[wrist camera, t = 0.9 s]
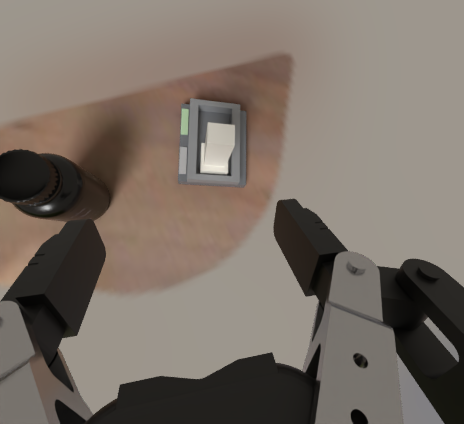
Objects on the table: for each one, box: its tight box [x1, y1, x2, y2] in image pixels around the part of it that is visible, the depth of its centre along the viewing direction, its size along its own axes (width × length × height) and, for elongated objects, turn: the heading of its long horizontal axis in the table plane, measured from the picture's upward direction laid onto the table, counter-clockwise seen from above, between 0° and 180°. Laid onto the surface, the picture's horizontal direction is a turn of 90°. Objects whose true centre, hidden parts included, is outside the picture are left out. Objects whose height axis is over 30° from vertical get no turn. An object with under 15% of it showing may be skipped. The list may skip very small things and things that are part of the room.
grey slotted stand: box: [178, 98, 246, 188], centre depth 33 cm, size 10×12×3 cm
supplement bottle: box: [0, 149, 110, 222], centre depth 25 cm, size 7×7×12 cm
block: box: [200, 122, 235, 176], centre depth 28 cm, size 4×4×9 cm
